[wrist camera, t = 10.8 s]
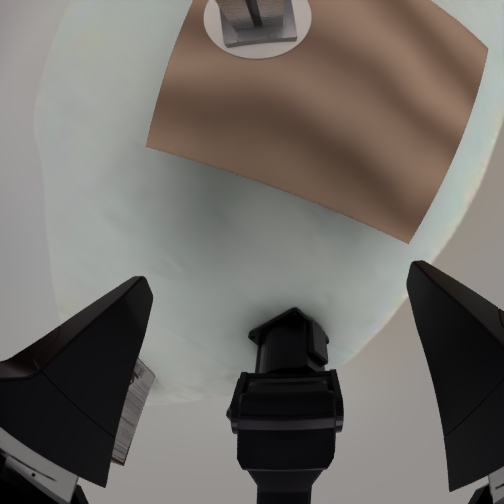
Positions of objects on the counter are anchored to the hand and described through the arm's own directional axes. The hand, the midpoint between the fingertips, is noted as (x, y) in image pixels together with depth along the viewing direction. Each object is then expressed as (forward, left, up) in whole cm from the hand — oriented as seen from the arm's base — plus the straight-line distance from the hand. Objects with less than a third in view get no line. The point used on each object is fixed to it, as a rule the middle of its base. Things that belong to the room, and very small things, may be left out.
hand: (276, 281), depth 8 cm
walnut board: (+9, +4, -13) cm, 16 cm away
